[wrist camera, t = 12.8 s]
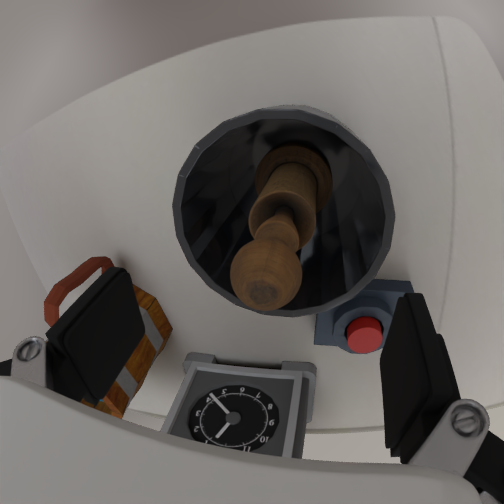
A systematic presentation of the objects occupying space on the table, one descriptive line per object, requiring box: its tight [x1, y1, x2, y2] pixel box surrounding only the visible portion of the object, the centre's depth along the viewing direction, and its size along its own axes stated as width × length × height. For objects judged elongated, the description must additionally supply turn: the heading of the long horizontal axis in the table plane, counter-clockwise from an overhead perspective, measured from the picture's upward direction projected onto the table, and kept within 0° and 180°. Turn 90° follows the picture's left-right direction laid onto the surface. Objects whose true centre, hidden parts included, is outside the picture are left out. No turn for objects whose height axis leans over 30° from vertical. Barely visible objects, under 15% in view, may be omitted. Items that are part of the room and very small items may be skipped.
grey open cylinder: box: [172, 105, 395, 317], centre depth 23 cm, size 13×13×12 cm
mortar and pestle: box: [230, 142, 333, 311], centre depth 20 cm, size 7×6×18 cm
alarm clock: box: [160, 353, 316, 459], centre depth 36 cm, size 18×13×18 cm
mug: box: [44, 257, 172, 419], centre depth 34 cm, size 20×14×15 cm
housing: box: [314, 279, 414, 354], centre depth 32 cm, size 10×8×4 cm
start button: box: [347, 316, 383, 353], centre depth 30 cm, size 4×4×2 cm
